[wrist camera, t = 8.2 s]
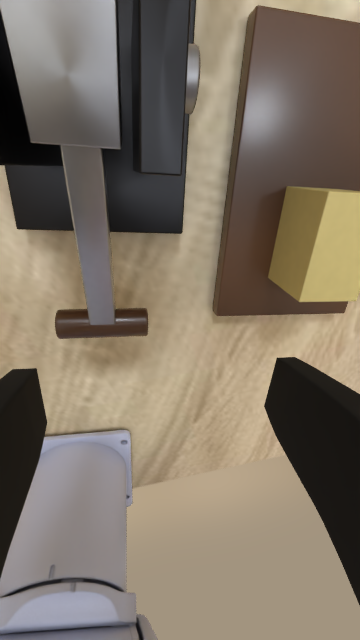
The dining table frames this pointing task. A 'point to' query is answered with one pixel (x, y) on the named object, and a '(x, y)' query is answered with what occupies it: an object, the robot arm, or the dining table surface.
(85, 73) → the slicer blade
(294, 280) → the butter
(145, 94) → the slicer
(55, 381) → the dining table surface
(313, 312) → the board
